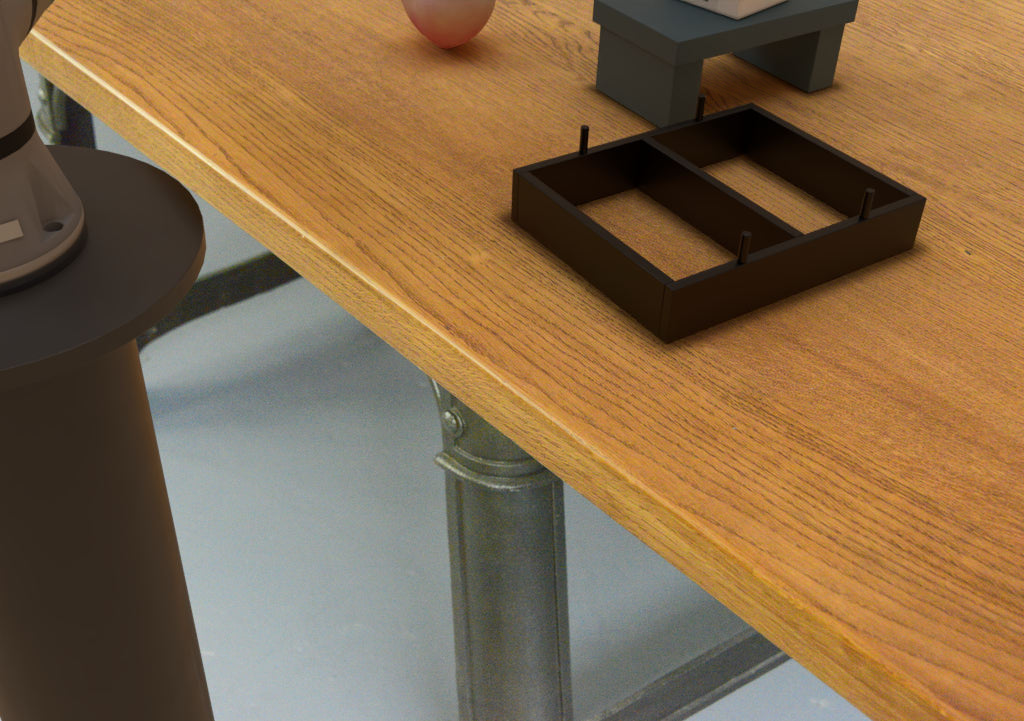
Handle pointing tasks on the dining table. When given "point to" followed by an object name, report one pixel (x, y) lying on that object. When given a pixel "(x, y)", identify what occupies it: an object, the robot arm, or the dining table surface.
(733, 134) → the rack
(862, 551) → the dining table surface
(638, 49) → the stand
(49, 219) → the robot arm
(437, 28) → the decorative fruit
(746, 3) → the container
